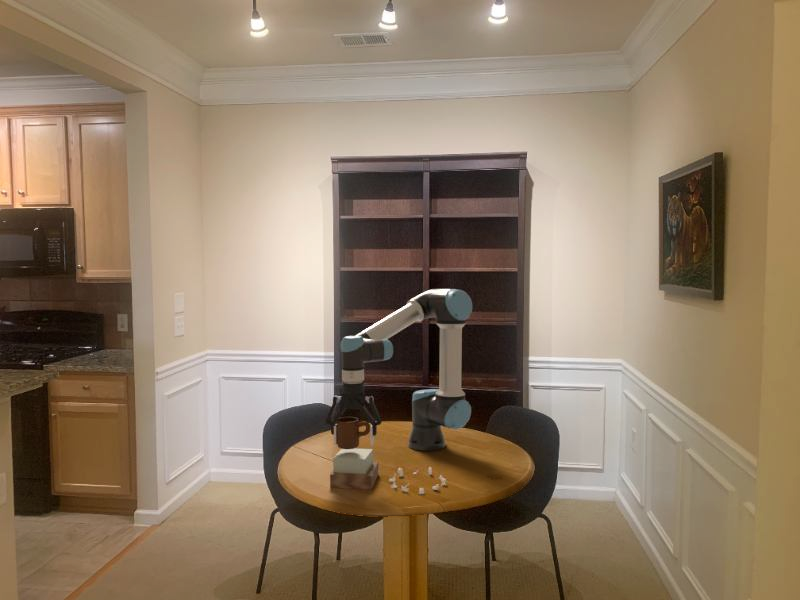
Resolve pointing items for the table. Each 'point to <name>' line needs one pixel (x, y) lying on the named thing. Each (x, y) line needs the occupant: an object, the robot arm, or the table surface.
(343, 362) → the robot arm
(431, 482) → the table surface
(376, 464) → the base block
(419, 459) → the table surface
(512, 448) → the table surface
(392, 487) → the game piece set
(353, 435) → the mug
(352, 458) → the top block
